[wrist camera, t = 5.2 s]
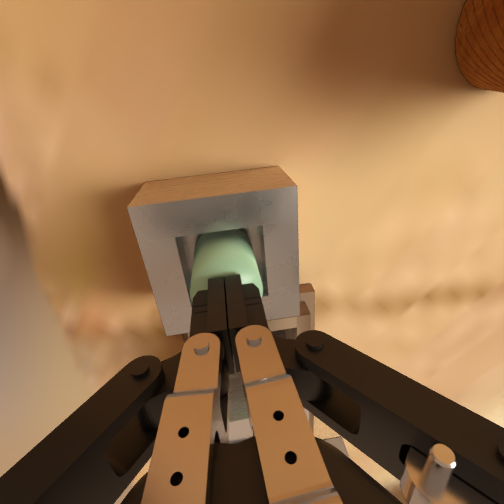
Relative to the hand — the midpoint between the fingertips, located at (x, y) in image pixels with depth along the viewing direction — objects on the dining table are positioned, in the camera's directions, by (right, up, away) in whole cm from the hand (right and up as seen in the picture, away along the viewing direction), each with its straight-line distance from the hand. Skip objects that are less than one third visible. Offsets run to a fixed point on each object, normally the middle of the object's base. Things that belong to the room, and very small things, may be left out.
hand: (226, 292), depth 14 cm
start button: (0, +2, +4) cm, 4 cm away
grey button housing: (-1, +3, +6) cm, 7 cm away
